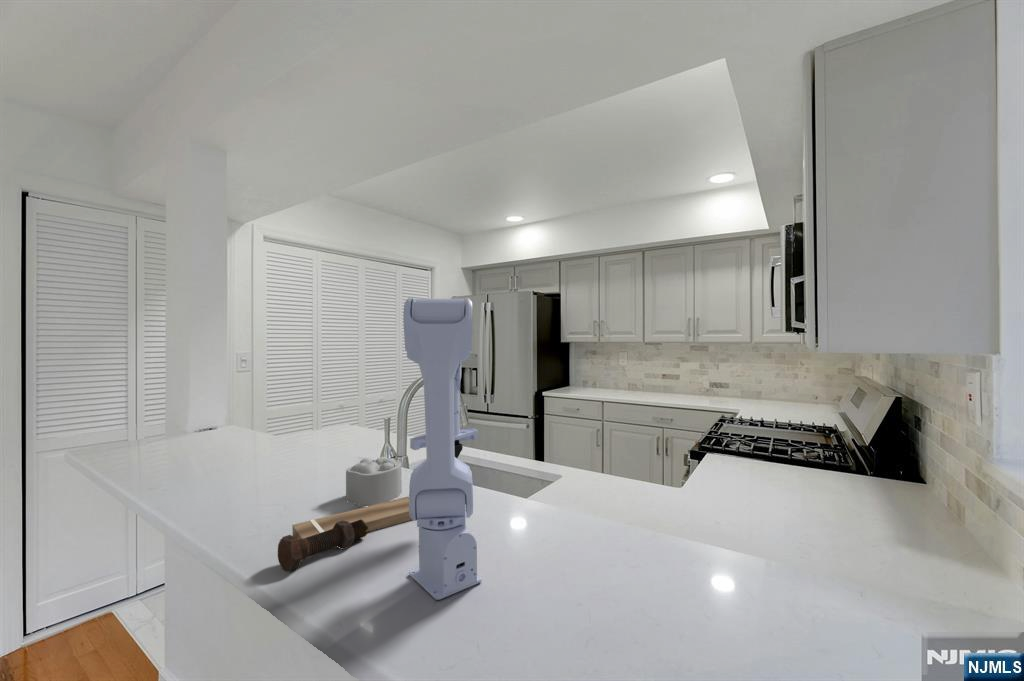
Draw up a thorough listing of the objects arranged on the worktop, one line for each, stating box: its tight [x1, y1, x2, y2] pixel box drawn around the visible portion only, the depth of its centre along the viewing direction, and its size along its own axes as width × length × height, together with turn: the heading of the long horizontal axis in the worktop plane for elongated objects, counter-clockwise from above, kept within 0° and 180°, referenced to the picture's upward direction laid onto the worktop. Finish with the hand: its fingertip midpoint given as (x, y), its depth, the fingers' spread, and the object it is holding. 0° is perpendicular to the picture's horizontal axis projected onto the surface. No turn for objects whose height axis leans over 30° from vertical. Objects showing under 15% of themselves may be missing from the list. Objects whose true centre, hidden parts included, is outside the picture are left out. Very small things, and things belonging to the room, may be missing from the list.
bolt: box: [277, 520, 369, 573], centre depth 78 cm, size 6×5×15 cm
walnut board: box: [291, 496, 413, 540], centre depth 89 cm, size 8×24×2 cm, turn 129°
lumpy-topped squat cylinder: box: [345, 456, 403, 507], centre depth 106 cm, size 10×13×9 cm
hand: (445, 479), depth 88 cm, fingers closed
